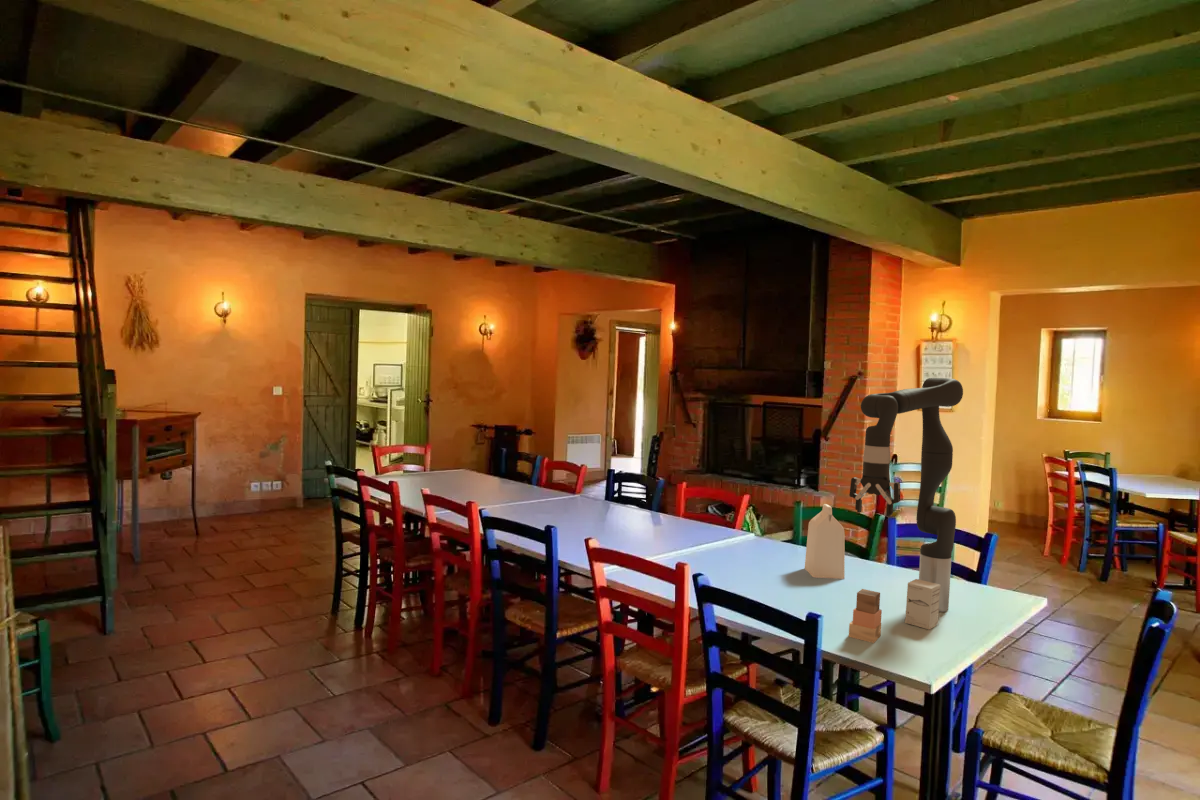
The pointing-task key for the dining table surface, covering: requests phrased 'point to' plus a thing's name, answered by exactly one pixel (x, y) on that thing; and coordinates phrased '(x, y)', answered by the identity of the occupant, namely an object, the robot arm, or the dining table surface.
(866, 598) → the walnut cube
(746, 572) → the dining table surface
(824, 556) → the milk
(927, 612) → the supplement box
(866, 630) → the tower base
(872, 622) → the tower
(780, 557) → the dining table surface
